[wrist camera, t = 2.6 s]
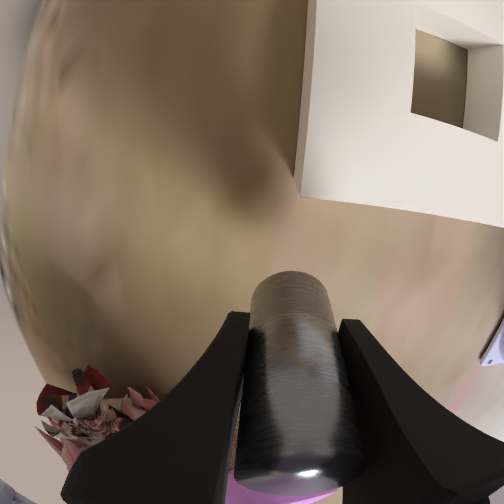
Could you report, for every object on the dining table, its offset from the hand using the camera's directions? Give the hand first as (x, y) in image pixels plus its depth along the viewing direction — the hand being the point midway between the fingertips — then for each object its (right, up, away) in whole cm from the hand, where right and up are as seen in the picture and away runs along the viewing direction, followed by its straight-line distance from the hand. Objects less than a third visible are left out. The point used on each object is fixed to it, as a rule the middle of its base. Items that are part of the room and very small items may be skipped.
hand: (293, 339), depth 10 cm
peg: (0, +1, +2) cm, 2 cm away
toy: (-12, -9, +12) cm, 19 cm away
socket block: (+7, +11, +1) cm, 13 cm away
